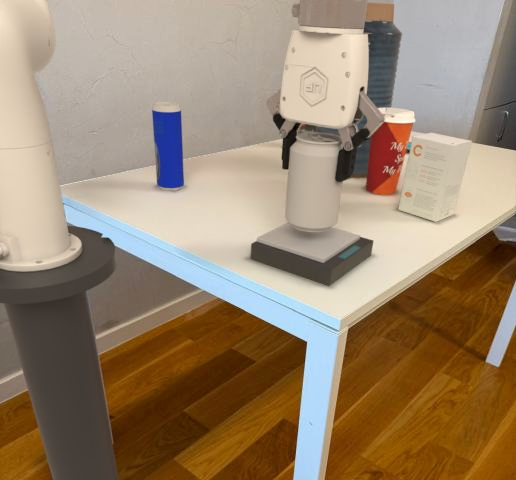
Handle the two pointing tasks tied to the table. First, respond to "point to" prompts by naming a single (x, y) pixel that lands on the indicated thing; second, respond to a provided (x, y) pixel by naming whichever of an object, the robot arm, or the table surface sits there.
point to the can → (313, 182)
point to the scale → (312, 252)
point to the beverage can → (168, 145)
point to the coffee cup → (388, 150)
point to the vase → (377, 71)
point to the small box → (434, 175)
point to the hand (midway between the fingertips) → (315, 172)
